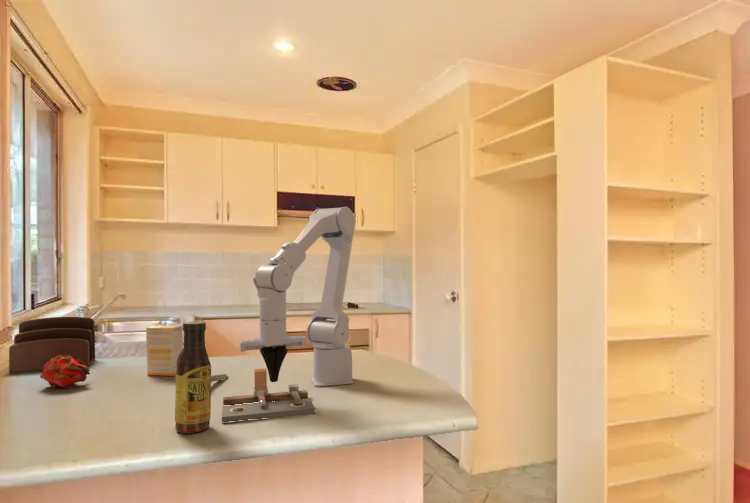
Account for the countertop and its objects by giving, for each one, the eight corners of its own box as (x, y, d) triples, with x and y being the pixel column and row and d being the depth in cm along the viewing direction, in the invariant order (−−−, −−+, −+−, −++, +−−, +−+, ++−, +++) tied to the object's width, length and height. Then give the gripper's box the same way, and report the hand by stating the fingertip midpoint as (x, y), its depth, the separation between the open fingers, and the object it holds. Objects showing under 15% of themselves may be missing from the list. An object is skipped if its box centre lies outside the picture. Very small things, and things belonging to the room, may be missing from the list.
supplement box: (184, 372, 137) (183, 324, 137) (174, 376, 132) (173, 327, 132) (157, 371, 138) (156, 324, 138) (146, 375, 133) (145, 326, 133)
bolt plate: (310, 403, 107) (309, 397, 107) (314, 414, 100) (314, 407, 100) (222, 411, 102) (222, 405, 102) (221, 423, 96) (221, 416, 96)
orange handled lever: (267, 392, 111) (266, 368, 111) (270, 406, 101) (269, 379, 101) (253, 393, 110) (253, 369, 110) (255, 407, 100) (254, 380, 100)
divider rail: (306, 396, 112) (306, 383, 112) (312, 409, 103) (312, 395, 103) (223, 404, 108) (223, 390, 108) (222, 418, 98) (222, 403, 98)
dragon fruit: (44, 391, 125) (87, 399, 123) (23, 378, 118) (68, 387, 116) (62, 359, 130) (104, 367, 128) (44, 346, 123) (87, 354, 121)
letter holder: (19, 366, 147) (19, 318, 147) (95, 360, 154) (95, 314, 154) (8, 373, 138) (7, 323, 138) (89, 367, 145) (89, 318, 145)
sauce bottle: (189, 437, 88) (188, 326, 88) (167, 431, 92) (166, 323, 92) (218, 426, 94) (217, 321, 94) (197, 420, 97) (196, 319, 97)
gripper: (299, 315, 116) (300, 373, 116) (236, 319, 110) (236, 380, 110) (308, 318, 110) (309, 380, 110) (242, 323, 104) (242, 388, 104)
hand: (273, 380), depth 109 cm, fingers closed
